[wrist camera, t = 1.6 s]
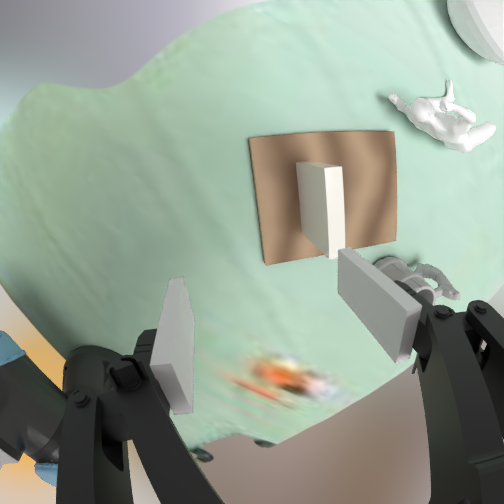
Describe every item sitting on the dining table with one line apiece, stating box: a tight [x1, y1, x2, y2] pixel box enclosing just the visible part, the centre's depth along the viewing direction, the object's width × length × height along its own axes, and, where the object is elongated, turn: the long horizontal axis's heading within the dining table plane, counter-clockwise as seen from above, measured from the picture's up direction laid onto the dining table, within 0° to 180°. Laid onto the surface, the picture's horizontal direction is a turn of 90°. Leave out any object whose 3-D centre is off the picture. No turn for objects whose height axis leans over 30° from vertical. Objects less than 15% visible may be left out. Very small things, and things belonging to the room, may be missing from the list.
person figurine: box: [388, 79, 496, 153], centre depth 30 cm, size 13×13×18 cm
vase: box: [447, 0, 504, 65], centre depth 19 cm, size 18×18×19 cm
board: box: [249, 131, 397, 265], centre depth 36 cm, size 20×16×1 cm
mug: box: [373, 257, 460, 306], centre depth 37 cm, size 8×12×12 cm, turn 108°
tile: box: [296, 161, 345, 259], centre depth 30 cm, size 2×9×9 cm, turn 7°
